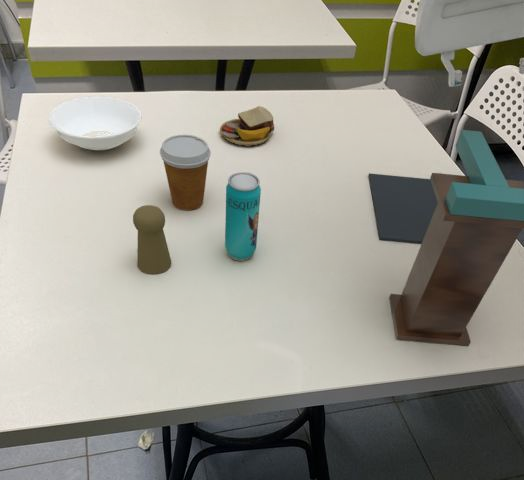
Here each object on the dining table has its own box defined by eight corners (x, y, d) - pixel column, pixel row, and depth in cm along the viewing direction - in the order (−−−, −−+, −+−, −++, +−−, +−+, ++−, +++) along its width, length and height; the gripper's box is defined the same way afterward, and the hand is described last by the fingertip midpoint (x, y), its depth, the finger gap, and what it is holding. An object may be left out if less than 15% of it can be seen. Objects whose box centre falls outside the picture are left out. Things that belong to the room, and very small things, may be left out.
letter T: (503, 150, 74) (511, 134, 72) (543, 223, 62) (553, 206, 60) (425, 142, 74) (431, 126, 72) (449, 214, 62) (457, 197, 60)
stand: (458, 303, 87) (523, 181, 69) (471, 346, 81) (547, 223, 62) (386, 297, 87) (432, 172, 68) (393, 339, 80) (445, 214, 62)
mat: (437, 182, 113) (437, 179, 113) (458, 247, 98) (460, 244, 97) (368, 175, 113) (368, 173, 112) (379, 239, 97) (380, 237, 97)
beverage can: (249, 266, 89) (254, 193, 78) (219, 257, 90) (220, 184, 79) (260, 248, 93) (266, 176, 81) (231, 240, 94) (234, 167, 82)
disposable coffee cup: (218, 209, 100) (218, 153, 91) (173, 219, 97) (169, 162, 88) (200, 185, 105) (199, 130, 96) (157, 193, 102) (152, 137, 93)
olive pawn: (129, 264, 87) (120, 211, 79) (153, 248, 91) (147, 195, 82) (155, 279, 85) (148, 226, 77) (178, 261, 89) (174, 209, 80)
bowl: (58, 170, 105) (51, 141, 100) (52, 126, 117) (45, 98, 112) (152, 160, 110) (149, 133, 105) (136, 120, 122) (133, 93, 117)
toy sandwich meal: (213, 125, 123) (213, 106, 119) (264, 121, 127) (265, 102, 123) (228, 150, 115) (229, 130, 112) (281, 144, 119) (284, 125, 116)
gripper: (581, -64, 62) (561, 61, 70) (412, -26, 66) (412, 88, 74) (603, -66, 57) (580, 68, 65) (420, -26, 61) (419, 97, 69)
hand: (489, 79), depth 69 cm, fingers open, 8 cm apart
